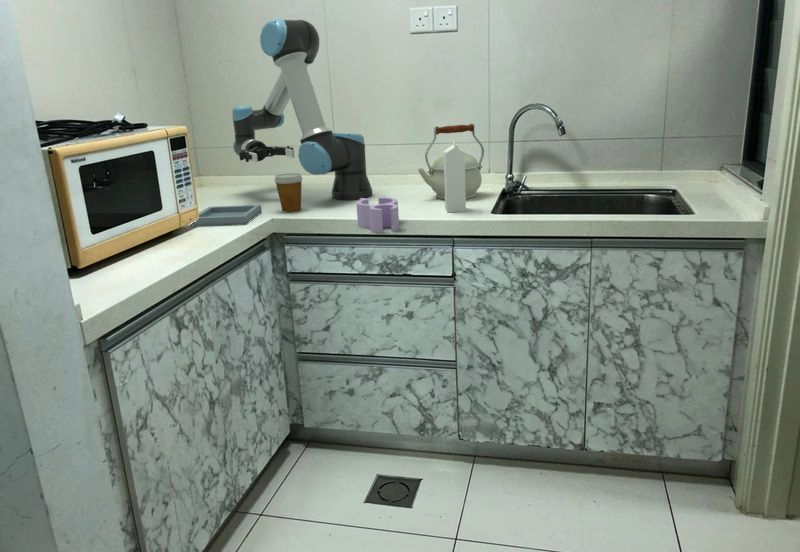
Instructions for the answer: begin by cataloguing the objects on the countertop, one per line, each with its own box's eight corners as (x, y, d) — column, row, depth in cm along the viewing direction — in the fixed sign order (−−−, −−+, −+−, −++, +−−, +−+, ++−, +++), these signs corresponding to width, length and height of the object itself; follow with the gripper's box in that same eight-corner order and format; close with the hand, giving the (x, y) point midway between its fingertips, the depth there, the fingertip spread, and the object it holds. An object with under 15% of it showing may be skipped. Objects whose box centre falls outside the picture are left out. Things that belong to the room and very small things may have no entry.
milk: (463, 208, 216) (462, 139, 209) (465, 211, 210) (465, 141, 203) (444, 208, 215) (443, 140, 209) (446, 212, 210) (445, 142, 203)
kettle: (473, 189, 246) (472, 121, 239) (495, 197, 230) (494, 124, 222) (410, 196, 239) (407, 126, 232) (428, 205, 223) (425, 130, 215)
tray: (261, 212, 225) (260, 204, 224) (246, 224, 207) (245, 216, 207) (210, 214, 226) (209, 206, 225) (190, 226, 209) (189, 218, 208)
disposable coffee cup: (311, 208, 227) (308, 173, 223) (292, 214, 219) (289, 178, 216) (290, 206, 232) (286, 172, 228) (271, 212, 224) (267, 177, 221)
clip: (408, 230, 190) (407, 206, 188) (366, 235, 188) (365, 211, 185) (392, 216, 209) (391, 195, 207) (353, 220, 206) (352, 199, 204)
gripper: (286, 156, 253) (308, 162, 236) (223, 164, 241) (241, 170, 224) (284, 137, 251) (307, 141, 233) (220, 143, 239) (238, 148, 221)
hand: (275, 155), depth 228 cm, fingers open, 13 cm apart
